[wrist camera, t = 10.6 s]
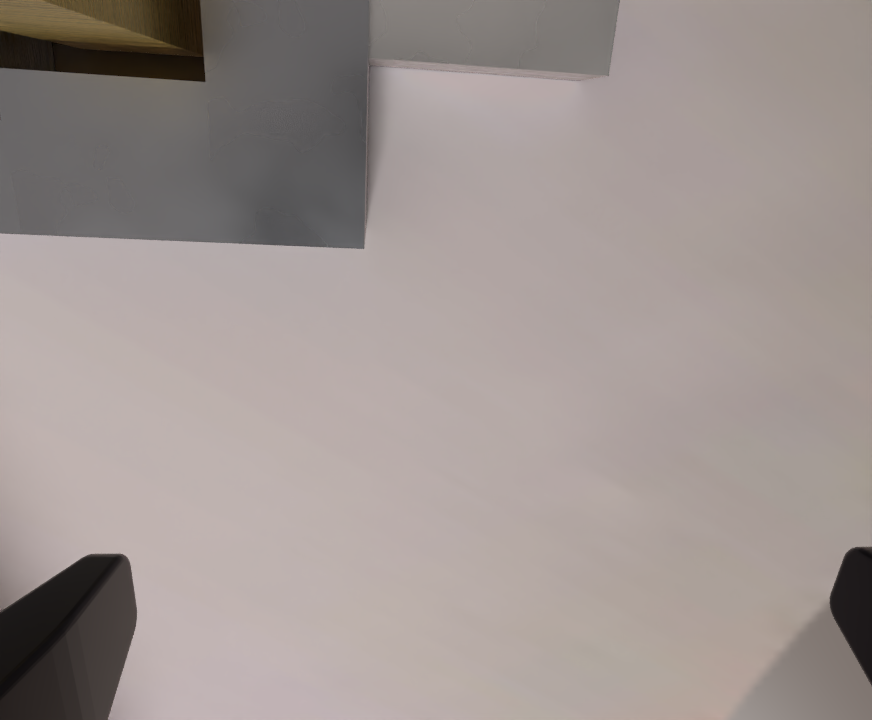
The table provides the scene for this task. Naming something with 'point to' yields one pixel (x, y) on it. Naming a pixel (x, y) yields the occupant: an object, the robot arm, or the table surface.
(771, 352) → the table surface
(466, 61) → the bracket
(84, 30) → the gold square pillar
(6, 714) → the robot arm
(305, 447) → the table surface
